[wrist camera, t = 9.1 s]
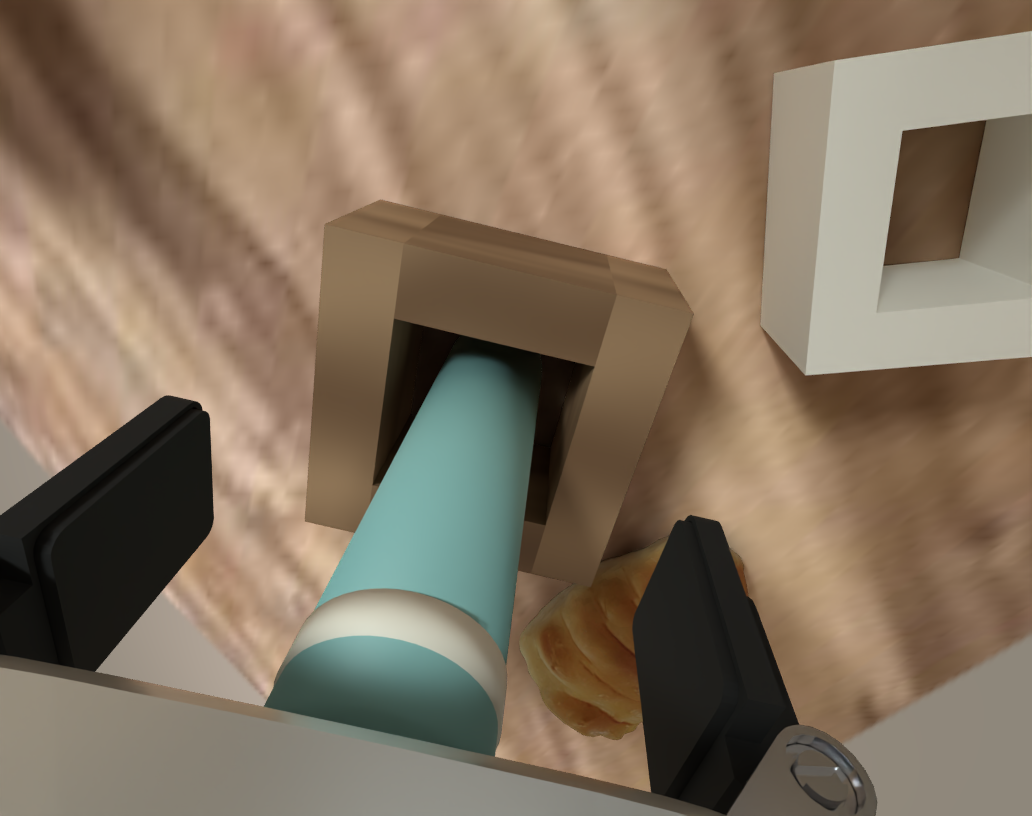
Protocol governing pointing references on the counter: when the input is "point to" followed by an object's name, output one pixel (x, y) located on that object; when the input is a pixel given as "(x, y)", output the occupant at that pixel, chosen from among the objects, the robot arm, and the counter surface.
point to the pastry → (595, 646)
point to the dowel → (430, 568)
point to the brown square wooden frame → (500, 319)
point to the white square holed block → (867, 207)
